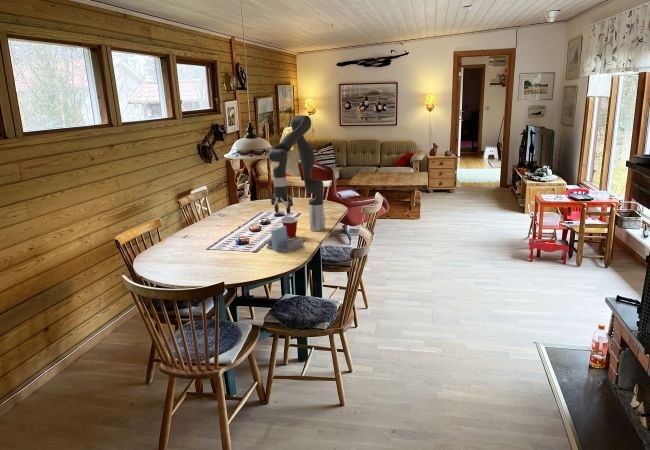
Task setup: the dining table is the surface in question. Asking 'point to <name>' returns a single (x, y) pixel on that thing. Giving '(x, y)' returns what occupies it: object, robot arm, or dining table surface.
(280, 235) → the rectangular block
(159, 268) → the dining table surface
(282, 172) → the robot arm
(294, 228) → the plastic cup
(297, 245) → the dish rack
